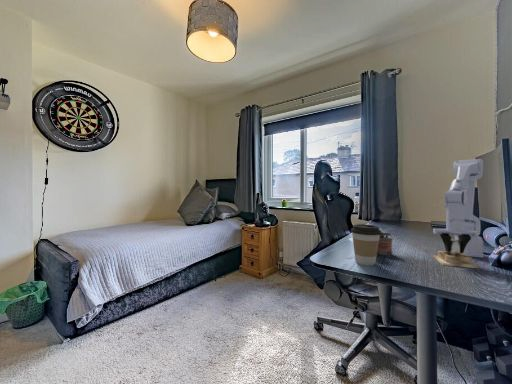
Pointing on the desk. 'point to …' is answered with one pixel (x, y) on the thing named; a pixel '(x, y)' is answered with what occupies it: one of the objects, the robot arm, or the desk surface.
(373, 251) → the coffee cup
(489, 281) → the desk surface
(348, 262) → the desk surface
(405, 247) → the desk surface
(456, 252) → the spigot peg
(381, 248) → the hip flask
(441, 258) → the dock socket
